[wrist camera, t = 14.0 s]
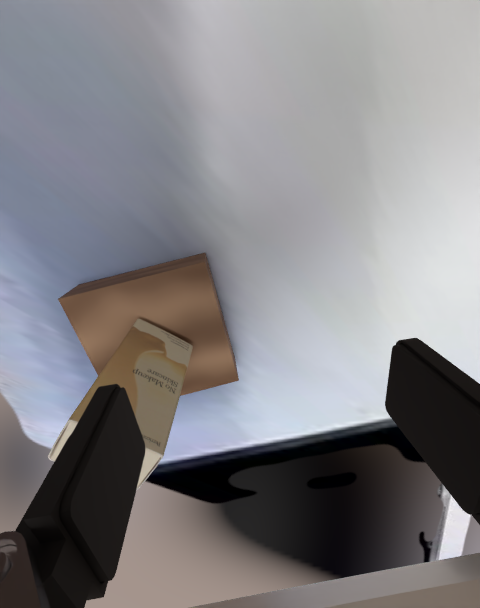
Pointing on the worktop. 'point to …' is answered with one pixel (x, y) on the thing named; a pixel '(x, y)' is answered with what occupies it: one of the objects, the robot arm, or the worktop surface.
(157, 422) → the skincare box
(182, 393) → the walnut block
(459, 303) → the worktop surface
